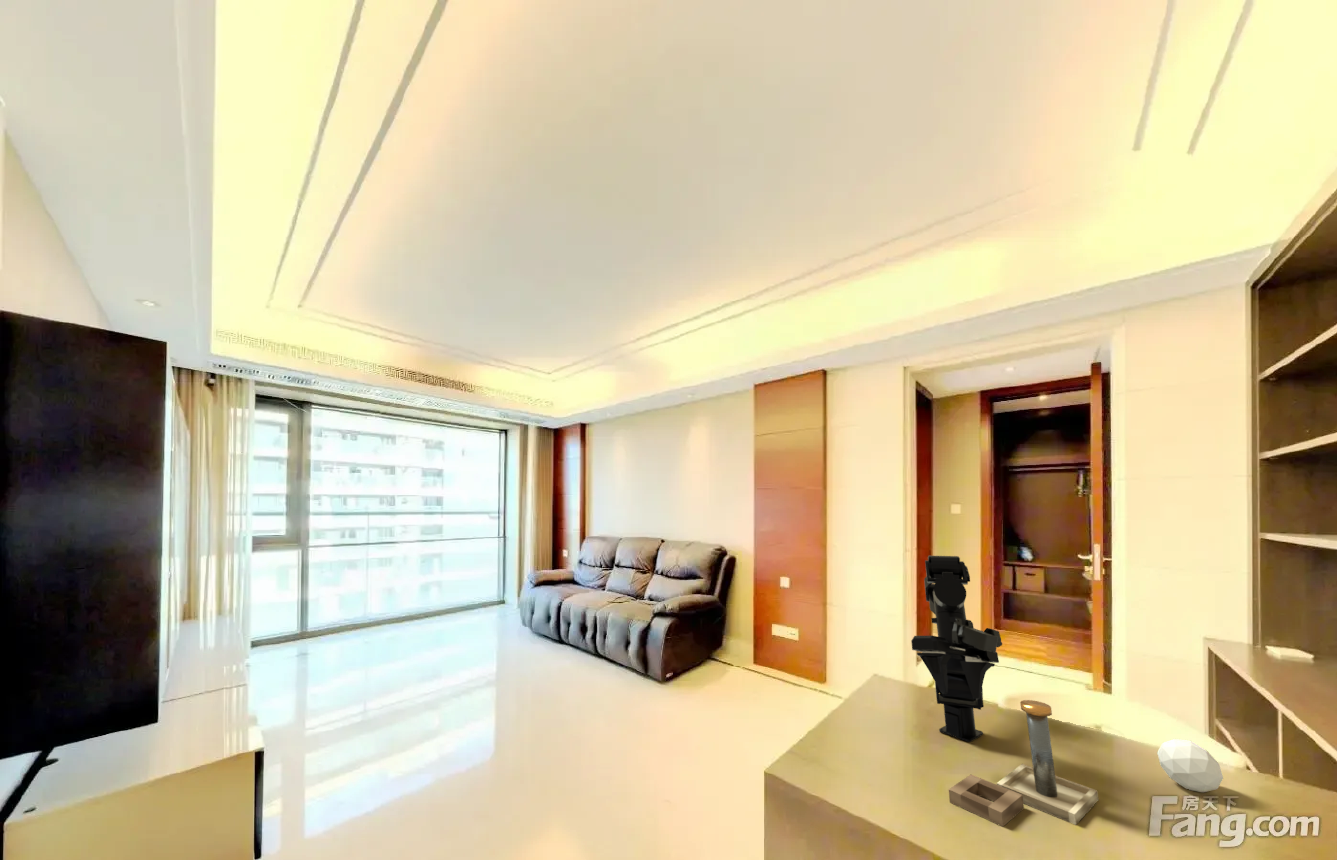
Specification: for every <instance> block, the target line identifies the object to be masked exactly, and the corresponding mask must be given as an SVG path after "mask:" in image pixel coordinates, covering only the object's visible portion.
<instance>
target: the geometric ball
mask: <svg viewBox="0 0 1337 860" xmlns="http://www.w3.org/2000/svg"><path fill="white" fill-rule="evenodd" d="M1157 757H1158V761H1159V764H1160V767H1161V768H1162V770H1163V771H1164V772H1165V774H1166V775H1167V776H1168V777H1169V778H1170V779H1171V780H1173V781H1174V782H1176V783H1177V784H1179V786H1182V787H1183V788H1185V789H1186V790H1187V789H1189V790H1188V791H1193V792H1198V793H1206V792H1209V791H1211V792H1212V791H1214V790H1218V789H1219V787H1220V785H1221V783H1222V781H1223V779H1224V776H1223V773H1222V770H1221V769H1222V768H1221V764H1220V763H1219V761H1218V760H1216V759H1215V757H1214V756H1212V754H1210V752H1209V751H1207V749H1205V748H1204V747H1202V746H1200V745H1199V744H1197V743H1196V742H1194V741H1192V740H1188V739H1187V740H1186V739H1180V738H1179V739H1178V738H1175V739H1174V738H1173V739H1170V740H1168V741H1163V742H1162V743H1161V745H1160V747H1159V748H1158V750H1157Z"/></svg>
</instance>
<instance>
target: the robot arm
mask: <svg viewBox="0 0 1337 860" xmlns="http://www.w3.org/2000/svg"><path fill="white" fill-rule="evenodd" d="M924 563H925V574H926V576H925V577H924V578H923V581H924V591H925V600H926V602H928V604H929V609H930V611H931V612H932V613H933V614H934V615H935V617H931V623H932V624H934V625H935V624H936V631H937V636H936V635H914V636H913V637H912V639H911V650H912V651H916V655H917V657H920V659H921V660H922V662H923V664H924V665H925V666H926V668H927V670H928V671H929V674H930V675H931V677H932V679H933V681H934V683H935V684H934V685H935V686H934V688H935V694H936V695H935V696H936V705H937V704H938V705H940V704H941V705H943V711H944V712H943V714H944V722H945V725H944V726H942V727H940V728H939V729H938V731H939V733H942V734H945V735H947V736H951V737H954V738H956V739H959V740H962V741H965V742H968V743H971V742H973V741H975V740H976V739H978V738H979V737H981V736H982V735H984V731H982V730H979V729H977V728H976V723H975V722H976V721H975V712H974V709H975V710H976V709H977V710H981V711H982V708H984V693H983V685H984V679H985V675H986V674H987V671H988V670H989V669H991V668H992V667H993V668H994V667H995V665H996V664H995V663H997V664H999V663H1000V661H999V660H1000V659H999V655H998V652H997V648H1000V647H1003V642H1002V638H1001V634H1000V631H999V630H997V629H993V628H988V627H987V628H985V630H980V629H978V628H975V627H974V622H972V620H970V619H967V616H966V608H965V602H966V598H967V589H966V588H965V586H967V585H968V584H969V583H970V582H971V576H970V573H969V569H968V566H967V565H965V562H964V560H963V561H961V557H959V556H958V555H928V556H927V560H924Z"/></svg>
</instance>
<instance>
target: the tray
mask: <svg viewBox="0 0 1337 860" xmlns="http://www.w3.org/2000/svg"><path fill="white" fill-rule="evenodd" d="M1055 779H1056V786H1057V794H1058V796H1057V797H1047V796H1044V795H1041V794H1039V793H1038V792H1037V791H1036V787H1035V779H1034V771H1033V766H1029V765H1027V764H1024V763H1021V764H1020V765H1018V766H1017V767H1016V768H1015V769H1013V770H1012V771H1011V772H1010V773H1008V774H1006V775H1005V776H1004V777H1003V778H1002V779H1000V780H999V781H998V782H996V785H999V786H1001V787H1004V788H1006V789H1009V790H1011V791H1014V792H1016V793H1019V794H1021V795H1022V796H1023V805H1027V806H1029V807H1032V808H1034V809H1036V810H1039V811H1042V812H1043V813H1046V814H1047V815H1048V814H1049V815H1051V816H1053V817H1056V818H1058V819H1061V820H1063V821H1065V822H1068V823H1070V824H1073V825H1076V826H1077V825H1078V824H1079V822H1080V821H1081V820H1082V819H1083V818H1084V817H1085V816H1086V815H1087V814H1088V812H1089V811H1091V809H1092V808H1094V806H1095V805H1096V804H1097V803H1098V802H1099V800H1100V799H1099V794H1098V790H1097V789H1095V788H1091V787H1088V786H1086V785H1084V784H1080V783H1078V782H1075V781H1072V780H1069V779H1066V778H1063V777H1060V776H1058V775H1055ZM1097 801H1098V802H1097ZM1096 802H1097V803H1096ZM1095 803H1096V804H1095ZM1094 804H1095V805H1094ZM1091 807H1092V808H1091ZM1090 808H1091V809H1090ZM1086 813H1087V814H1086ZM1085 814H1086V815H1085Z"/></svg>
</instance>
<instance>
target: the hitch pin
mask: <svg viewBox="0 0 1337 860" xmlns="http://www.w3.org/2000/svg"><path fill="white" fill-rule="evenodd" d="M1019 703H1020V709H1021V711H1023V712H1025V713H1026V715H1025V716H1026V720H1027V728H1028V729H1027V731H1028V736H1029V746H1030V754H1031V762H1032V767H1033V771H1034V779H1035V787H1036V791H1037V792H1038V793H1039V794H1041V795H1044V796H1047V797H1057V796H1058V794H1057V786H1056V779H1055V776H1056V772H1055V771H1056V770H1055V765H1054V758H1053V750H1052V748H1053V747H1052V743H1051V741H1052V740H1051V734H1050V727H1049V726H1050V725H1049V719H1048V717H1050V716H1053V710H1052V706H1050V705H1049V704H1048V703H1045V702H1042V701H1039V700H1032V699H1031V700H1030V699H1024V700H1021V701H1020V702H1019Z"/></svg>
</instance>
